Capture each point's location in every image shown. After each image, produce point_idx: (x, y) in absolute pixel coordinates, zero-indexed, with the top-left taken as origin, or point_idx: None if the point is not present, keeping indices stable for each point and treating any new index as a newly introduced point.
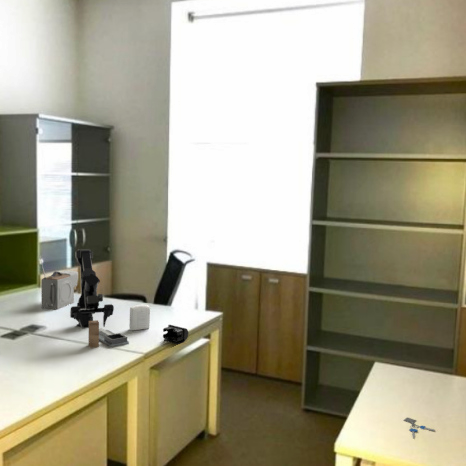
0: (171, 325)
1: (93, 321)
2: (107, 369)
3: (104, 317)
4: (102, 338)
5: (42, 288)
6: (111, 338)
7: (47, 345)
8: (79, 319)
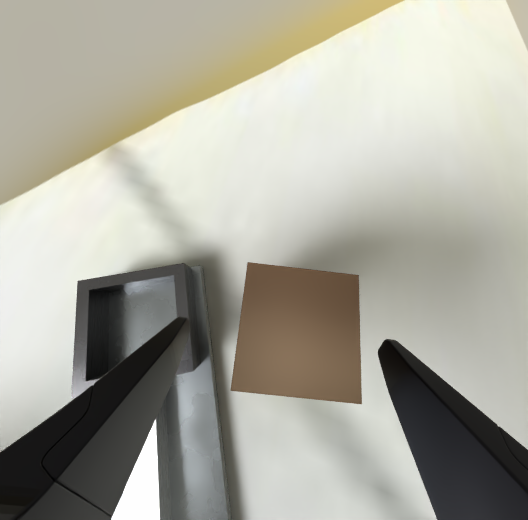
0: None
1: (301, 345)
2: (281, 73)
3: (100, 412)
4: (200, 403)
5: None
6: None
7: None
8: (526, 449)
